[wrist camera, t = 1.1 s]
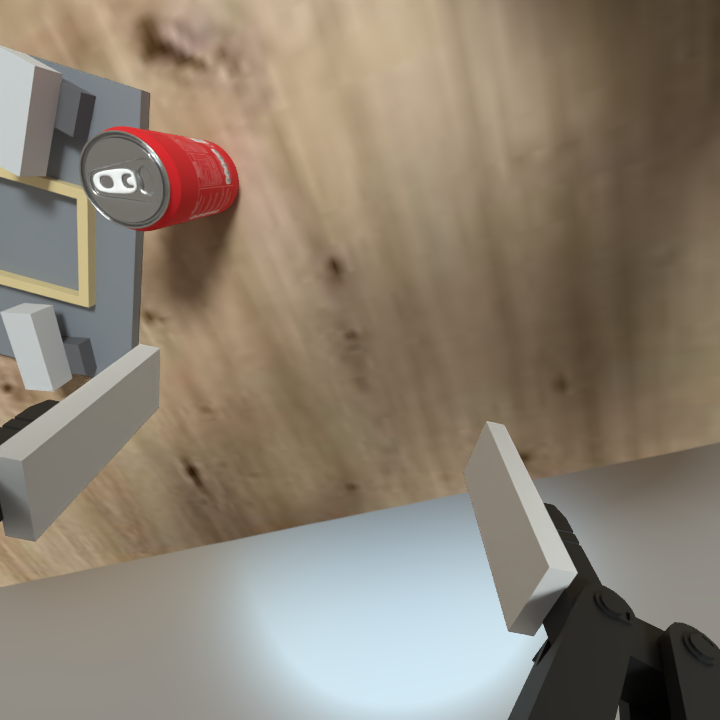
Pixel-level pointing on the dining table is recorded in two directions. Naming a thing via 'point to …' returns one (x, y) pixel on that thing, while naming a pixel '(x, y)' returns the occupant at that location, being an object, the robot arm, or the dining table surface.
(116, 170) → the beverage can
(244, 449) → the dining table surface
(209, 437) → the dining table surface
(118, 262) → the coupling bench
